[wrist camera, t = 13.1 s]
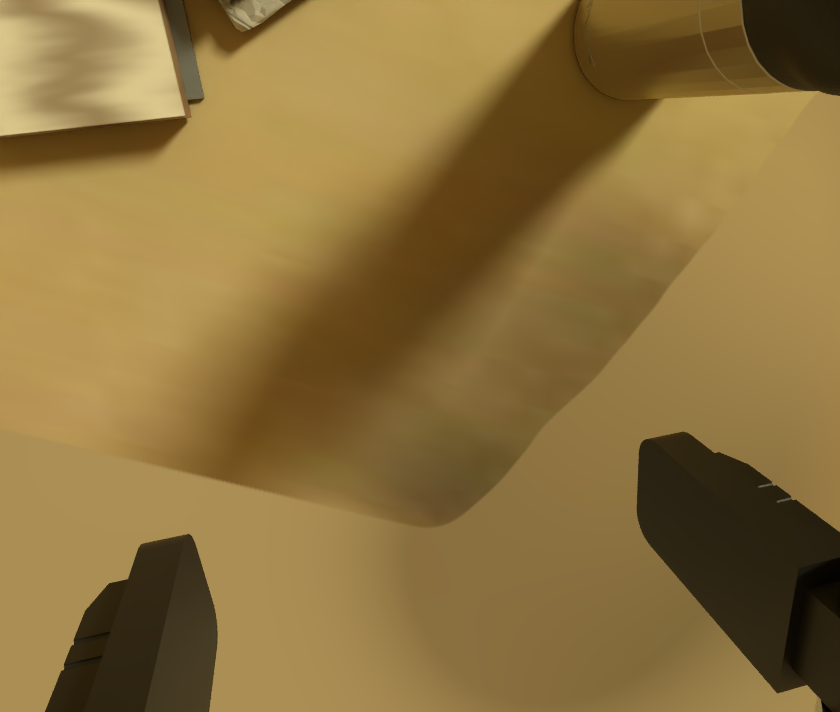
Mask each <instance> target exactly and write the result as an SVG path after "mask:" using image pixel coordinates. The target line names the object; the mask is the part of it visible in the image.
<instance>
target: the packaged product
mask: <svg viewBox="0 0 840 712" xmlns="http://www.w3.org/2000/svg"><path fill="white" fill-rule="evenodd" d="M218 1H219V3H220V4H221V6H222V7H223V9H224V11H225V12H226V14H227V15H228V17H229V19H230V20H231V22H232V23H233V25H234V27H235V28H236V29H238V30H239V31H241V32H245V31H247V30H249V29H251V28H253V27H255V26H257V25H259V24H261V23H263V22H264V21H265V20H266V19H268V18H269V17H270V16H272V15H273V14H274V13H275V12H277V11H278V10H279V9H281V8H282V7H283V6H284V5H286V4H287V3H288V2H290V1H292V0H218Z"/></svg>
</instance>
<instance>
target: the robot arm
mask: <svg viewBox="0 0 840 712" xmlns="http://www.w3.org/2000/svg"><path fill="white" fill-rule="evenodd" d="M574 44H575V52H576V56H577V59H578V62H579V65H580V67H581V69H582V71H583V73H584V75H585V77H586V78H587V79H588V80H589V82H590V83H591V84H592V85H593V86H594V87H595V88H596V89H598V90H599V91H600V92H602V93H603V94H605V95H607V96H610V97H612V98H615V99H623V100H638V99H664V98H684V97H705V96H726V95H746V94H767V93H781V92H802V91H820V92H823V93H826V94H831V95H838V96H840V0H581V1H580V3H579V6H578V10H577V14H576V18H575V25H574ZM637 516H638V521H639V525H640V528H641V530H642V533H643V535H644V537H645V539H646V540H647V542H648V543H649V544H650V546H651V547H652V548H653V549H654V550H655V551H656V553H657V554H658V555H659V556H660V557H661V558H662V560H663V561H664V562H665V563H666V564H667V566H668V567H669V568H670V569H671V570H672V571H673V573H674V574H675V575H676V576H677V577H678V578H679V580H680V581H681V582H682V583H683V584H684V585H685V587H686V588H687V589H688V590H689V591H690V592H691V593H692V595H693V596H694V597H695V598H696V599H697V600H698V602H699V603H700V604H701V605H702V606H703V607H704V609H705V610H706V611H707V612H708V613H709V614H710V616H711V617H712V618H713V619H714V620H715V621H716V623H717V624H718V625H719V626H720V627H721V628H722V629H723V631H724V632H725V633H726V634H727V635H728V637H729V638H730V639H731V640H732V641H733V642H734V644H735V645H736V646H737V647H738V648H739V649H740V650H741V652H742V653H743V654H744V655H745V656H746V658H747V659H748V660H749V661H750V662H751V663H752V665H753V666H754V667H755V668H756V669H757V670H758V671H759V673H760V674H761V675H762V676H763V677H764V678H765V680H766V681H767V682H768V683H769V684H770V685H771V687H772V688H773V689H774V690H775V691H776V692H777V693H780V692H784V691H787V690H791V689H794V688H798V687H801V686H805V685H808V686H809V687H810V689H812V691H813V692H814V693H815V694H816V695H817V700H816V705H815V712H840V532H839V531H837V530H836V529H835V528H833V527H832V526H831V525H829V524H828V523H826V522H825V521H824V520H822V519H821V518H820V517H818V516H817V515H816V514H814V513H813V512H812V511H810V510H809V509H808V508H806V507H805V506H804V505H802V504H801V503H800V502H798V501H797V500H792V499H791V496H790V495H789V494H788V493H786V492H785V491H784V490H782V489H781V488H780V487H778V486H777V485H776V486H773V485H772V482H771V481H770V480H769V479H767V478H766V477H765V476H763V475H762V474H761V473H759V472H758V471H757V470H755V469H754V468H753V467H751V466H750V465H748V464H746V463H744V462H741V461H739V460H736V459H734V458H732V457H729V456H727V455H724V454H722V453H719V452H718V453H714V452H712V451H711V450H710V449H708V448H707V447H706V446H705V445H703V444H702V443H701V442H699V441H698V440H697V439H695V438H694V437H693V436H692V435H690V434H689V433H686V432H680V433H674V434H670V435H665V436H660V437H656V438H651V439H646V440H644V441H643V442H642V443H641V445H640V449H639V465H638V491H637ZM216 651H217V620H216V613H215V609H214V604H213V601H212V598H211V594H210V591H209V587H208V584H207V581H206V578H205V574H204V571H203V568H202V564H201V561H200V558H199V555H198V551H197V548H196V545H195V542H194V540H193V538H192V536H191V535H190V534H187V535H182V536H177V537H172V538H168V539H163V540H158V541H153V542H149V543H144V544H141V545H140V547H139V548H138V551H137V554H136V557H135V560H134V563H133V566H132V569H131V572H130V575H129V578H128V579H127V580H123V581H118V582H113V583H109V584H108V585H107V586H106V588H105V589H104V590H103V591H102V592H101V593H100V594H99V596H98V597H97V598H96V599H95V600H94V601H93V603H92V604H91V605H90V606H89V607H88V608H87V609H86V611H85V613H84V615H83V618H82V620H81V623H80V625H79V628H78V631H77V633H76V635H75V638H74V645H72V646H71V648H70V650H69V653H68V655H67V658H66V661H65V663H64V670H63V671H61V673H60V675H59V678H58V681H57V683H56V685H55V688H54V691H53V693H52V696H51V698H50V701H49V703H48V706H47V708H46V711H45V712H209V707H210V700H211V691H212V683H213V675H214V667H215V659H216Z"/></svg>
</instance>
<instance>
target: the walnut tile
mask: <svg viewBox="0 0 840 712" xmlns="http://www.w3.org/2000/svg"><path fill="white" fill-rule="evenodd" d="M181 118H191V113H190V108H189V104H188V100H187V95H186V91H185V87H184V82H183V78H182V74H181V69H180V65H179V61H178V56H177V52H176V47H175V43H174V39H173V34H172V30H171V26H170V21H169V17H168V13H167V8H166V4H165V0H0V138H8V137H17V136H27V135H36V134H45V133H54V132H63V131H72V130H81V129H90V128H99V127H109V126H118V125H127V124H136V123H145V122H154V121H163V120H172V119H181Z"/></svg>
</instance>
